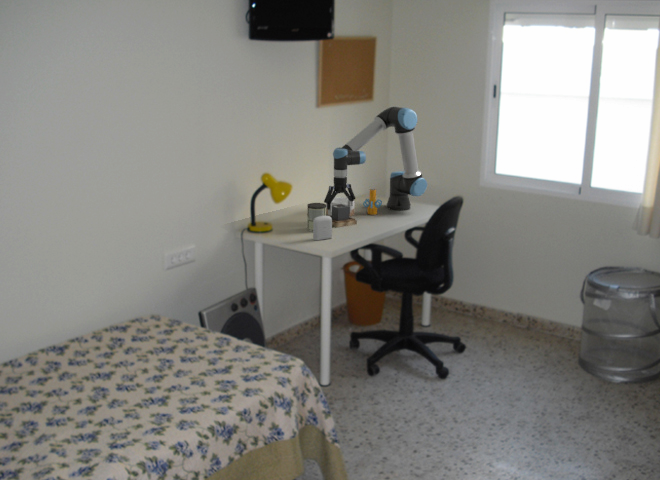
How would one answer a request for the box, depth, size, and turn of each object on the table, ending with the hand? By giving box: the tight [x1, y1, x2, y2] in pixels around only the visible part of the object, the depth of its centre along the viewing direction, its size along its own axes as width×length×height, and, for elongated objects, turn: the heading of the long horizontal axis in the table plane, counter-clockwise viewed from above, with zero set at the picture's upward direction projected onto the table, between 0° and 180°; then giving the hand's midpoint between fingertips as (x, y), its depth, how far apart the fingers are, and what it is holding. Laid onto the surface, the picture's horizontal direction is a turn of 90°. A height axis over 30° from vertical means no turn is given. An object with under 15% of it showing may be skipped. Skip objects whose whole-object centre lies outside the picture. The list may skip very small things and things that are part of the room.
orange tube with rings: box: [362, 188, 383, 216], centre depth 406 cm, size 12×10×15 cm
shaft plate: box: [332, 206, 358, 228], centre depth 384 cm, size 14×14×10 cm
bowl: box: [325, 196, 356, 217], centre depth 407 cm, size 17×17×8 cm
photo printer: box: [312, 215, 333, 241], centre depth 352 cm, size 10×4×12 cm, turn 118°
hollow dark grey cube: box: [330, 204, 351, 221], centre depth 384 cm, size 8×8×8 cm
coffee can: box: [306, 202, 327, 233], centre depth 369 cm, size 10×10×14 cm
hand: (339, 213), depth 384 cm, fingers open, 13 cm apart
